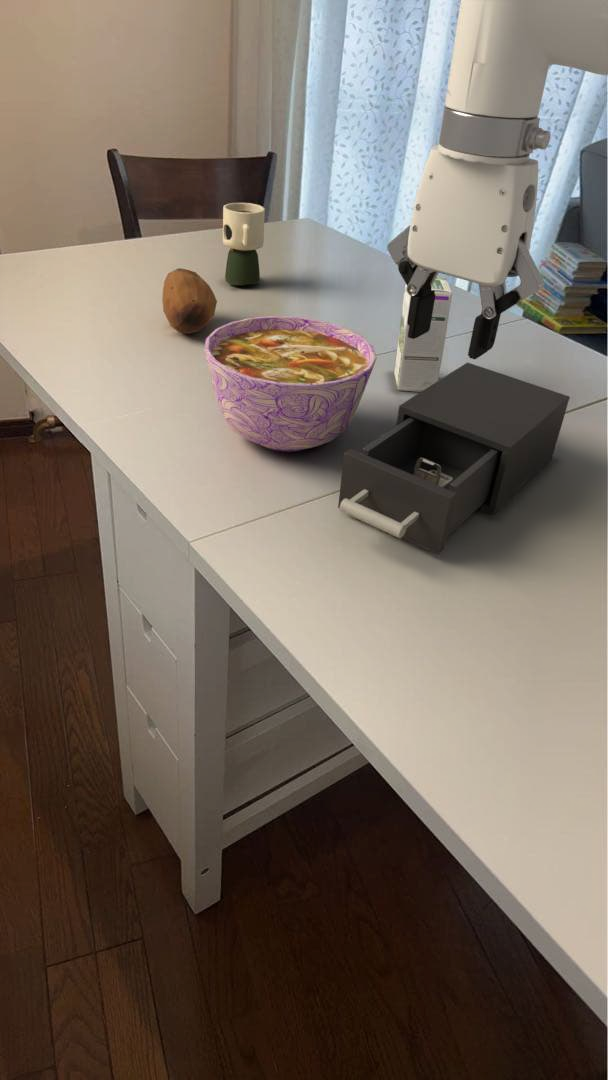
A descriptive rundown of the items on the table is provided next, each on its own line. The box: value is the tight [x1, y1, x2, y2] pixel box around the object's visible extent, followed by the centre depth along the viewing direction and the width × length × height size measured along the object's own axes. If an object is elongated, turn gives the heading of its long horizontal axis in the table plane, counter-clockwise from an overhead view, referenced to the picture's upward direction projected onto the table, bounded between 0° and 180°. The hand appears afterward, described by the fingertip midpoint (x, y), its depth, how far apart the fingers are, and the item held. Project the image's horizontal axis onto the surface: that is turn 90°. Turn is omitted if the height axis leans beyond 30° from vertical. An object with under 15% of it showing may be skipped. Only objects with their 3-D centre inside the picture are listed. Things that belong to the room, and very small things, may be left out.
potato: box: [162, 268, 218, 335], centre depth 123 cm, size 8×13×8 cm
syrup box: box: [393, 276, 453, 393], centre depth 110 cm, size 6×6×14 cm
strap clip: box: [413, 458, 453, 489], centre depth 86 cm, size 8×3×4 cm, turn 142°
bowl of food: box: [204, 315, 377, 453], centre depth 96 cm, size 20×20×12 cm
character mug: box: [222, 202, 266, 287], centre depth 140 cm, size 11×7×13 cm, turn 9°
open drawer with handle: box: [337, 417, 502, 555], centre depth 85 cm, size 20×12×7 cm, turn 143°
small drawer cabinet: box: [395, 362, 571, 516], centre depth 94 cm, size 17×14×9 cm
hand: (448, 342), depth 76 cm, fingers open, 5 cm apart
